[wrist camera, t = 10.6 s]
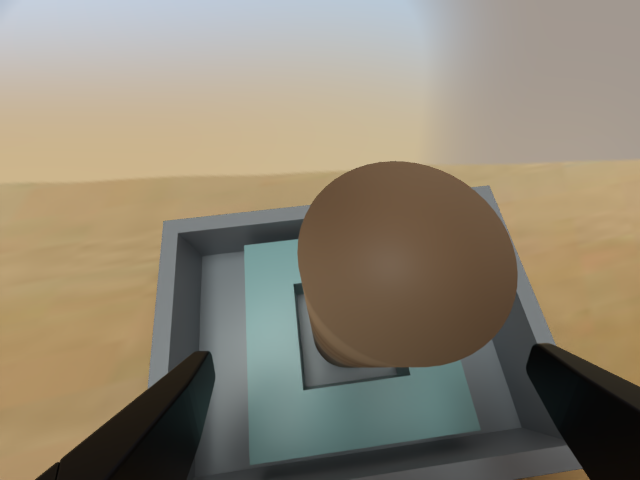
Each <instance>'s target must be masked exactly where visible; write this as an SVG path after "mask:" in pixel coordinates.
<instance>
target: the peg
mask: <svg viewBox="0 0 640 480" xmlns="http://www.w3.org/2000/svg"><path fill="white" fill-rule="evenodd" d="M297 256H298V268H299V272H300V277H301V282H302V286H303V291H304V296H305V301H306V305H307V310H308V315H309V320H310V324H311V329H312V334H313V338H314V343H315V346H316V348H317V350H318V352H319V353H320V355H321V356H322V357H323V358H324V359H325V360H326V361H327V362H329V363H330V364H333V365H335V366H338V367H345V368H376V367H433V366H441V365H445V364H449V363H452V362H456V361H459V360H461V359H463V358H465V357H468V356H470V355H472V354H473V353H475V352H476V351H478V350H479V349H481V348H482V347H484V346H485V345H486V344H487V343H488V342H489V341H490V340H492V339H493V338H494V337H495V335H496V334H497V333H498V332H499V330H500V329H501V328H502V327H503V325H504V323H505V321H506V320H507V318H508V316H509V314H510V312H511V309H512V306H513V303H514V301H515V296H516V290H517V279H518V271H517V261H516V256H515V252H514V248H513V245H512V242H511V239H510V237H509V234H508V232H507V230H506V228H505V227H504V225H503V223H502V221H501V220H500V218H499V217H498V215H497V214H496V212H495V211H494V210H493V208H492V207H491V206H490V205H489V204H488V203H487V202H486V200H485V199H483V198H482V197H481V196H480V195H479V194H478V193H477V192H476V191H475V190H473V189H472V188H471V187H469V186H468V185H467V184H465V183H464V182H462V181H461V180H459V179H457V178H455V177H454V176H452V175H450V174H448V173H445V172H443V171H441V170H438V169H435V168H432V167H430V166H426V165H421V164H417V163H410V162H396V161H390V162H379V163H374V164H369V165H365V166H362V167H359V168H356V169H353V170H351V171H349V172H347V173H345V174H343V175H341V176H340V177H338V178H337V179H335V180H334V181H332V182H331V183H330V184H329V185H327V186H326V187H325V188H324V189H323V190H322V191H321V192H320V193H319V195H318V196H317V197H316V198H315V200H314V201H313V203H312V204H311V205H310V207H309V209H308V211H307V213H306V215H305V217H304V220H303V223H302V225H301V228H300V233H299V238H298V250H297Z"/></svg>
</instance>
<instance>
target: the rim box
mask: <svg viewBox="0 0 640 480" xmlns="http://www.w3.org/2000/svg"><path fill="white" fill-rule="evenodd" d="M471 188H472V189H473V190H475V191H476V192H477V193H478V194H479V195H480V196H481V197H482V198H483V199H485V200H486V202H487V203H488V204H489V205H490V206H491V207H492V208H493V210H494V211H495V212H496V214H497V215H498V217H499V218H500V220H501V221H502V223H503V225H504V227H505V228H506V230H507V232H508V229H507V227H506V225H505V222H504V220H503V217H502V215H501V213H500V210H499V208H498V206H497V203H496V201H495V198H494V196H493V194H492V191H491V189H490V186H480V187H471ZM309 207H310V205H306V206H297V207H288V208H279V209H270V210H260V211H251V212H242V213H233V214H224V215H215V216H205V217H196V218H187V219H178V220H169V221H163V232H162V243H161V253H160V264H159V274H158V285H157V296H156V306H155V317H154V327H153V338H152V349H151V359H150V370H149V380H148V388H150V387H151V386H152V385H153V384H155V383H156V382H157V381H158V380H160V379H161V378H162V377H163V376H165V375H166V374H167V373H168V372H170V371H171V370H172V369H173V368H175V367H176V366H177V365H178V364H180V363H181V362H182V361H183V360H185V359H186V358H187V357H188V356H189V355H191V354H192V353H193V352H195V351H210V352H211V354H212V358H213V363H214V369H215V383H214V387H213V392H212V396H211V400H210V404H209V408H208V412H207V416H206V420H205V424H204V428H203V432H202V436H201V440H200V443H199V446H198V449H197V452H196V455H195V457H194V460H193V463H192V466H191V469H190V472H189V474H188V477H187V480H515V479H522V478H528V477H534V476H540V475H546V474H553V473H559V472H565V471H571V470H577V469H583V468H582V467H581V465H580V464H579V462H578V461H577V459H576V458H575V456H574V455H573V453H572V452H571V450H570V449H569V447H568V446H567V444H566V442H565V441H564V439H563V438H562V436H561V435H560V433H559V431H558V430H557V428H556V426H555V425H554V423H553V421H552V419H551V417H550V416H549V414H548V412H547V410H546V408H545V406H544V405H543V403H542V401H541V399H540V397H539V395H538V394H537V392H536V390H535V388H534V386H533V384H532V383H531V381H530V379H529V377H528V375H527V372H526V363H527V360H528V357H529V353H530V350H531V347H532V346H533V345H534V344H536V343H550V344H553V345H555V346H556V344H555V342H554V340H553V337H552V335H551V332H550V330H549V328H548V325H547V323H546V320H545V318H544V316H543V313H542V311H541V309H540V306H539V304H538V301H537V299H536V297H535V294H534V292H533V289H532V287H531V285H530V282H529V280H528V277H527V275H526V273H525V270H524V268H523V265H522V263H521V261H520V258H519V256H518V253H517V251H516V249H515V246H514V244H513V241H512V239H511V237H510V234H509V232H508V234H509V237H510V239H511V242H512V245H513V248H514V252H515V256H516V261H517V271H518V279H517V290H516V296H515V301H514V303H513V306H512V309H511V312H510V314H509V316H508V318H507V320H506V321H505V323H504V325H503V327H502V328H501V329H500V330H499V332H498V333H497V334H496V335H495V337H494V338H493V339H492V340H490V341H489V342H488V343H487V344H486V345H485V346H484V347H482V348H481V349H479V350H478V351H476V352H475V353H473V354H472V355H470V356H468V357H465V358H463V359H461V360H459V361H456V362H452V363H449V364H445V365H441V366H433V367H376V368H345V367H338V366H335V365H333V364H330V363H329V362H327V361H326V360H325V359H324V358H323V357H322V356H321V355H320V353H319V352H318V350H317V348H316V346H315V343H314V338H313V334H312V329H311V324H310V320H309V315H308V310H307V305H306V301H305V296H304V291H303V286H302V282H301V277H300V272H299V268H298V256H297V250H298V238H299V233H300V228H301V225H302V223H303V220H304V217H305V215H306V213H307V211H308V209H309Z"/></svg>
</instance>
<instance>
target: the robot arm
mask: <svg viewBox="0 0 640 480" xmlns="http://www.w3.org/2000/svg"><path fill="white" fill-rule="evenodd" d="M526 372H527V375H528V377H529V379H530V381H531V383H532V384H533V386H534V388H535V390H536V392H537V394H538V395H539V397H540V399H541V401H542V403H543V405H544V406H545V408H546V410H547V412H548V414H549V416H550V417H551V419H552V421H553V423H554V425H555V426H556V428H557V430H558V431H559V433H560V435H561V436H562V438H563V439H564V441H565V442H566V444H567V446H568V447H569V449H570V450H571V452H572V453H573V455H574V456H575V458H576V459H577V461H578V462H579V464H580V465H581V467H582V468H583V470H584V471H585V473H586V474H587V476H588V477H589V479H590V480H640V387H639V386H637V385H635V384H633V383H631V382H629V381H627V380H625V379H623V378H621V377H619V376H617V375H614V374H612V373H610V372H608V371H606V370H604V369H602V368H600V367H598V366H596V365H594V364H592V363H590V362H588V361H586V360H584V359H582V358H580V357H578V356H576V355H574V354H571V353H569V352H567V351H565V350H563V349H561V348H559V347H557V346H555V345H553V344H550V343H536V344H534V345H533V346H532V347H531V350H530V353H529V357H528V360H527V363H526ZM214 383H215V369H214V363H213V358H212V354H211V352H210V351H195V352H193V353H192V354H191V355H189V356H188V357H187V358H186V359H185V360H183V361H182V362H181V363H180V364H178V365H177V366H176V367H175V368H173V369H172V370H171V371H170V372H168V373H167V374H166V375H165V376H163V377H162V378H161V379H160V380H158V381H157V382H156V383H155V384H153V385H152V386H151V387H150V388H148V389H147V390H146V391H145V392H144V393H142V394H141V395H140V396H139V397H137V398H136V399H135V400H134V401H132V402H131V403H130V404H129V405H127V406H126V407H125V408H124V409H122V410H121V411H120V412H119V413H117V414H116V415H115V416H114V417H112V418H111V419H110V420H109V421H107V422H106V423H105V424H104V425H103V426H101V427H100V428H99V429H98V430H96V431H95V432H94V433H93V434H91V435H90V436H89V437H88V438H86V439H85V440H84V441H83V442H81V443H80V444H79V445H78V446H76V447H75V448H74V449H73V450H71V451H70V452H69V453H68V454H67V455H65V456H64V457H63V458H62V459H61V460H60V462H57V463H55V464H54V465H53V466H51V467H50V468H49V469H48V470H46V471H45V472H44V473H43V474H41V475H40V476H39V477H38V478H36V479H35V480H187V477H188V474H189V472H190V469H191V466H192V463H193V460H194V457H195V455H196V452H197V449H198V446H199V443H200V440H201V436H202V432H203V428H204V424H205V420H206V416H207V412H208V408H209V404H210V400H211V396H212V392H213V387H214Z"/></svg>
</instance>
